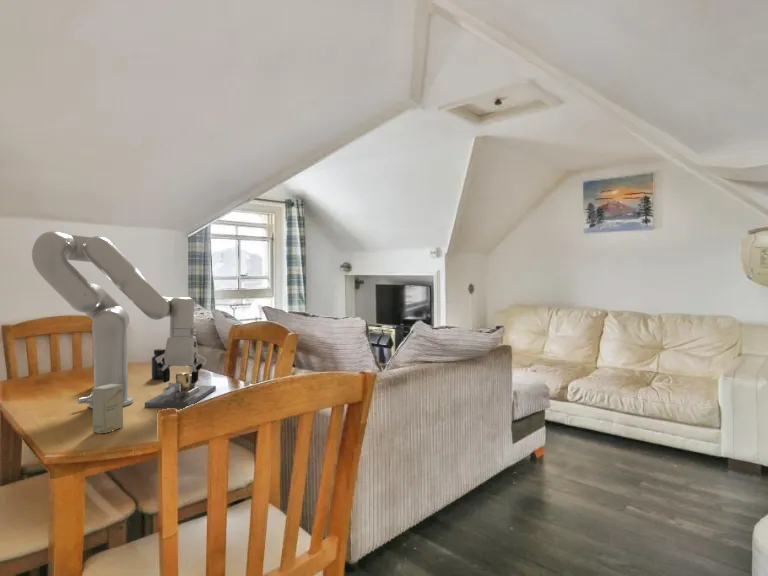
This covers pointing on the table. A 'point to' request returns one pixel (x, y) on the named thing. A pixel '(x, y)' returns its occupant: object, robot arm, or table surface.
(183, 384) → the universal joint block
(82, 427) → the table surface
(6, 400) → the table surface
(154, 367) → the supplement bottle
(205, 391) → the shaft bench
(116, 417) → the skincare box
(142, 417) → the table surface
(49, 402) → the table surface
